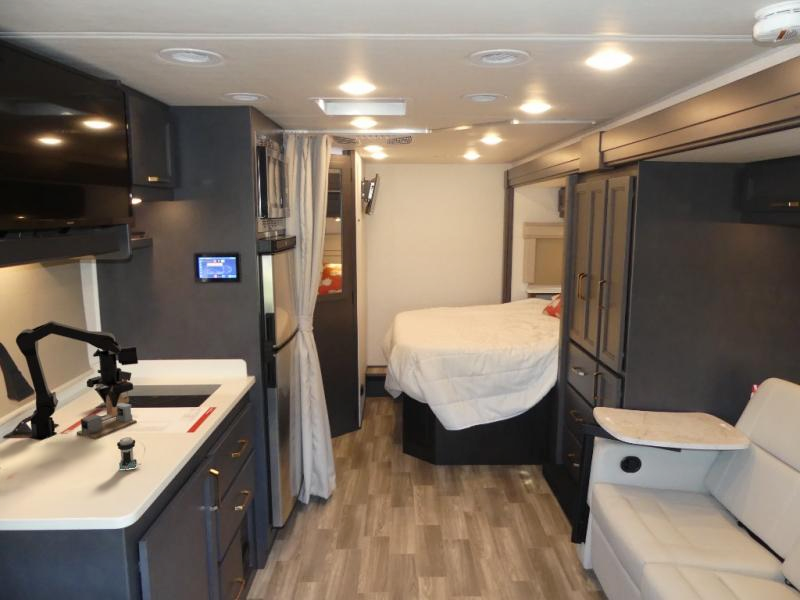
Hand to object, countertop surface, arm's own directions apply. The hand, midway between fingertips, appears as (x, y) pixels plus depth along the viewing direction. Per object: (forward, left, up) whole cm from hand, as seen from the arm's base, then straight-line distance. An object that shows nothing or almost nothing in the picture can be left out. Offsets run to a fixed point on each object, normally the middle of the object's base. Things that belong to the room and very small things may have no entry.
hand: (111, 406), depth 222 cm
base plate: (-2, 0, -8) cm, 8 cm away
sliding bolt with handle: (-3, 0, -5) cm, 5 cm away
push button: (-22, -36, -8) cm, 43 cm away
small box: (+19, +21, -8) cm, 29 cm away
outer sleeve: (-9, 0, -7) cm, 11 cm away
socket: (+5, 0, -7) cm, 9 cm away
